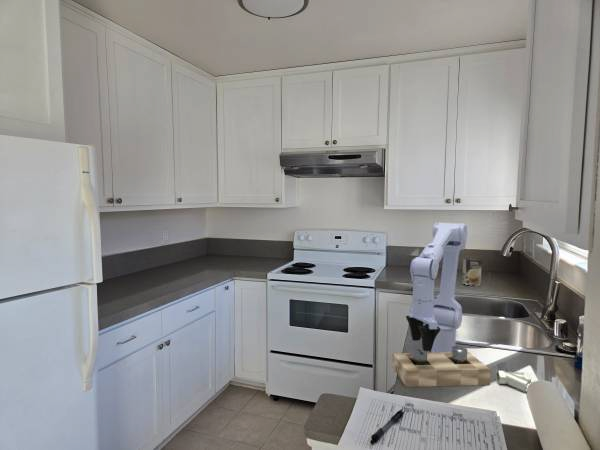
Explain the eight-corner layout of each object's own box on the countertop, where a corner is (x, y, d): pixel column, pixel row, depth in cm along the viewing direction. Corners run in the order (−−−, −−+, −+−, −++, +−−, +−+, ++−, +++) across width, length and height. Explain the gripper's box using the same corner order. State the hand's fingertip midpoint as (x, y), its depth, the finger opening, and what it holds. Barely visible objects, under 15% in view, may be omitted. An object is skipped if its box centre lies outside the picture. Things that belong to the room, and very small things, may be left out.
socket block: (392, 367, 114) (392, 353, 114) (467, 365, 116) (468, 351, 115) (406, 386, 102) (406, 371, 102) (489, 384, 104) (490, 369, 103)
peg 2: (448, 359, 111) (449, 346, 111) (462, 358, 111) (462, 345, 111) (455, 365, 107) (456, 351, 107) (469, 365, 107) (470, 351, 107)
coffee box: (465, 286, 225) (466, 260, 224) (461, 283, 231) (462, 258, 230) (481, 286, 224) (482, 260, 223) (477, 284, 230) (478, 258, 229)
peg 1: (409, 359, 110) (410, 346, 110) (423, 359, 110) (423, 346, 110) (415, 366, 106) (415, 352, 106) (429, 365, 106) (429, 352, 106)
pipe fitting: (535, 396, 99) (525, 382, 105) (537, 383, 98) (526, 370, 105) (503, 393, 100) (495, 380, 107) (504, 380, 100) (496, 367, 106)
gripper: (400, 292, 113) (399, 336, 114) (420, 306, 99) (418, 355, 100) (422, 292, 114) (421, 335, 115) (445, 306, 100) (443, 355, 101)
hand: (421, 345), depth 108 cm, fingers open, 7 cm apart
